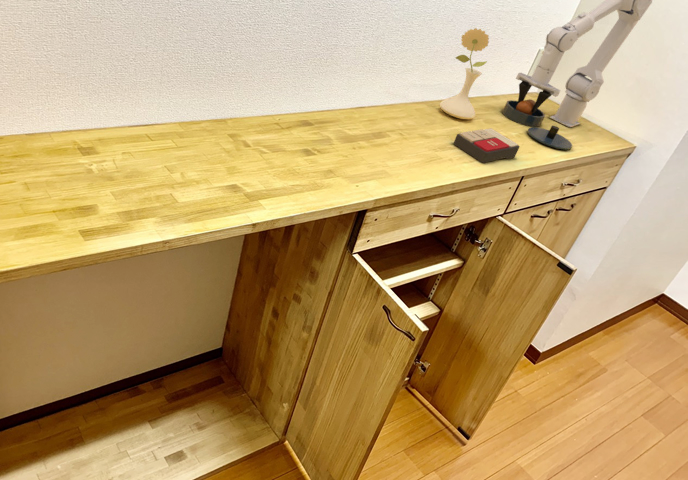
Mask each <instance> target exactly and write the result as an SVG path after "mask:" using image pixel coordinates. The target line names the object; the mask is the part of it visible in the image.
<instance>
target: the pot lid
mask: <svg viewBox="0 0 688 480" xmlns="http://www.w3.org/2000/svg"><path fill="white" fill-rule="evenodd" d="M559 131H560V128H559V127H558V126H557V125H551V126H550V128H549V129H546V128H542V127H529V128H528V129H527V134H528V135H529V136H530V137H531V138H532V139H534V140H535V141H537V142H539V143H541V144H542V145H545V146H548V147H550V148H554V149H558V150H570V149H572V147H573V144H572V142H571V141H570V140H569V139H567V138H566V137H564V136H563V135H561V134H559V133H558V132H559Z"/></svg>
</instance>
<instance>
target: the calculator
mask: <svg viewBox="0 0 688 480" xmlns="http://www.w3.org/2000/svg"><path fill="white" fill-rule="evenodd" d="M452 144H453V145H454V146H456V147H457V148H458V149H460V150H462V151H463V152H465V153H466V154H467V155H470V156H471V157H473V158H474V159H475V160H477V161H479V162H480V163H482V164H484V163H488V162H493V161H497V160H502V159H506V160H510V159H514V158H516V156H517V153H518V152H519V149H520V145H519V143H517V142H515V141H514V140H512V139H510V138H508V137H506V136H505V135H503V134H501V133H500V132H498V131H496V130H495V129H493V128H484V129H483V128H481V129H475V130H472V131H471V130H469V131H463V132H460V133H457V134H456V136H455V138H454V141H453V143H452Z"/></svg>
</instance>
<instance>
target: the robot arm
mask: <svg viewBox="0 0 688 480" xmlns="http://www.w3.org/2000/svg"><path fill="white" fill-rule="evenodd" d="M652 4H653V0H603V1H602V2H601V3H600V4H598V5H597V6H596V7H595V8H593V9H592V10H591V11H589V12H580V13H579V14H578V15H577V16H576V17H575V18H573V19H571V20H569V21H568V22H566V23H565V24H564V25H562V26H556V27H554V28H552V29H551V30H550V31H549V33H547V34H546V37H545V45H544V47H543V49H544V51H543V52H542V53H541V56H540V58H539V61H538V63H537V65H536V66H535V69H534V70H533V73H532V75H528V74H525V73H523V72H518V73H517V74H516V77H515V79H516V80H518V81H521V82H519V83H518V99H517V101H518V103H519V102H521V101H524V100H526V97H527V95H528V93H529V91H530V90H531V88H532V87H534V88H536V89H539V90H541V91H539V92H538V96H537V98H536V99H535V102H536V103H535V105H534V106H533V108H532V111H531V112H532V113H534V112H536V110H537V109H539V108H540V107H541V105H543V103H544V102H545V101H547V100H548V99H549V98H550V97H551V96H553V97H555V98H556V97H558V96H559V95H560V93H561V89H559V88H556V87H555V86H553V85H551V84H550V81H551V79H552V78H553V76H554V74H555V72H556V69H557V68H558V66H559V64H560V62H561V60H562V59H563V56H564V54H565V52H566V51H569V50H571V48H572V47H573V46H574V45H575V43H576V42H577V41H578V40H579V38H581V37H582V36H583V35H585V34H587V33H588V32H590V31H591V30H593V28H594V26H595V24H596V23H597V22H598V21H600V20H602V19H603V18H605V17H607V16H608V15H610V14H612V13H614V12H617V13H618V19H617V21H616V22H615V24H614V25H613V27H612V28H611V29H610V31H609V32H608V34H607V35H606V37H605V38H604V40H603V41H602V43H601V44H600V45H599V46H598V48H597V50H596V51H595V52H594V54H593V56H592V57H591V58H590V60H589V62H587V64H586V65H585V66H581V67H578V68H576V70H575V71H574V73H572V74H571V75H570V76H569V77H568V78H567V80H566V82H565V91H564V93H565V96H564V97H563V99H562V100H561V103H560V104H559V106H558V108H557V109H556V112H555V114H554V115H551V116H549V119H551V120H553V121H555V122H556V123H558V124H562V125H564V126H565V127H567V128H572V127H575V126H578V125H580V124H581V122H579V121H580V118H581V116H582V115H583V113H584V112H585V110H586V107H587V104H588V103H589V102H590V101H592V100H594V99H595V98H596V97H597V96H598V94H599V92H600V89H601V87H602V86H603V84H604V82H605V81H604V78H603V72H604V70H605V69H606V68H607V66H608V65H609V63H610V62H611V60H612V59H613V58H614V56H615V55H616V54H617V52H618V51H619V49H620V48H621V46H622V45H623V44H624V42H625V41H626V39H627V38H628V36H629V35H630V34H631V32H632V31H633V29H634V28H635V27H636V25H637V24H638V22H639V21H640V20H641V19H642V17H643V16H644V15H645V13H646V11H647V10H648V9H649V7H650V6H651V5H652ZM518 103H517V105H518Z"/></svg>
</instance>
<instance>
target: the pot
mask: <svg viewBox="0 0 688 480" xmlns="http://www.w3.org/2000/svg"><path fill="white" fill-rule="evenodd" d="M517 103H518V100H511V99H510V100H506V102H505V104H504V107H503V109H502V110H501V112H502V115H503V116H505V117H506V118H507V119H509V120H510V121H512V122H515V123H517V124H519V125H522V126H526V127H529V128H532V127H537V128H539V127H540V126H541V125H542V123H543V121H544V119H545V118H546V114H545V113H544V111H542V110H541V109H539V108H538V109H537V110H536V112H534V113H532V115H528V114H525V113H522V112H520V111H518V110H516V106H517Z"/></svg>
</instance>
